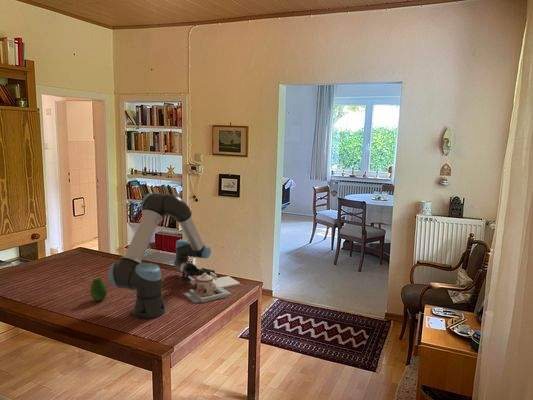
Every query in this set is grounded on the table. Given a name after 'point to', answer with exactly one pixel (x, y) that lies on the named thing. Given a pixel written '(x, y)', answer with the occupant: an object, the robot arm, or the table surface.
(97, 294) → the avocado
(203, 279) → the teacup with lid
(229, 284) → the mat
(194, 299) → the cradle
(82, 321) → the table surface
